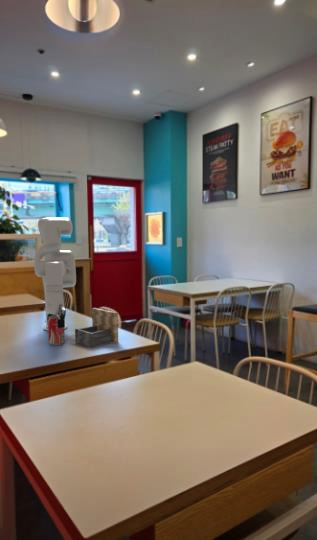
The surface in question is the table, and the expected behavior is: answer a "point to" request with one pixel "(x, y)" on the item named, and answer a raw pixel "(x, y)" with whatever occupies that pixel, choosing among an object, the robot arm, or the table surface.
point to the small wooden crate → (99, 329)
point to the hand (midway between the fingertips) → (56, 325)
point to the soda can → (55, 331)
